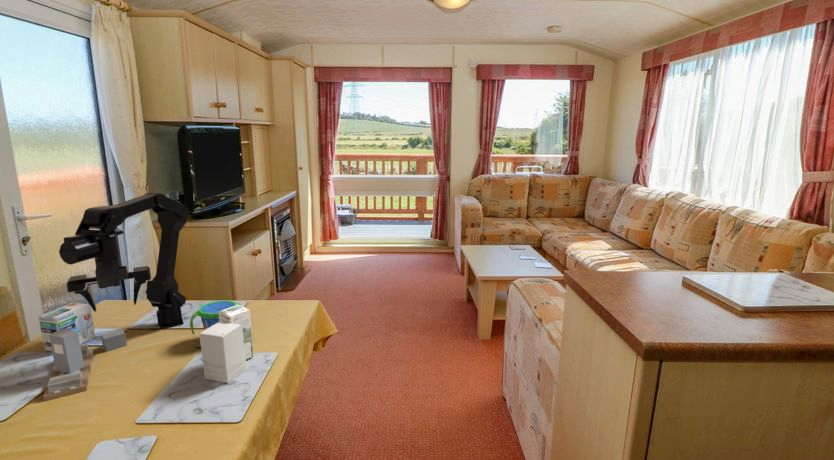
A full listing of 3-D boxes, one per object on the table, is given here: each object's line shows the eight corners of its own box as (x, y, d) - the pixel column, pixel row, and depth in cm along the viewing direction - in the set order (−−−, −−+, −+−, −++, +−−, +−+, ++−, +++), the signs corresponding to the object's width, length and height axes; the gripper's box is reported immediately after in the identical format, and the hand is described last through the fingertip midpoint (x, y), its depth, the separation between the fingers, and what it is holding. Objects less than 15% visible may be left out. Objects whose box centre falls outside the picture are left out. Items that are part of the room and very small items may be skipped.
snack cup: (246, 326, 141) (244, 296, 139) (250, 340, 132) (247, 308, 130) (192, 336, 135) (188, 305, 132) (192, 351, 125) (188, 318, 123)
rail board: (57, 359, 121) (55, 349, 120) (93, 352, 125) (91, 341, 125) (44, 400, 103) (41, 388, 102) (86, 390, 107) (84, 378, 106)
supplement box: (247, 369, 116) (243, 324, 113) (227, 384, 109) (222, 337, 107) (225, 364, 119) (220, 320, 116) (203, 378, 112) (197, 332, 109)
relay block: (123, 341, 132) (120, 329, 131) (127, 345, 129) (125, 333, 128) (103, 347, 128) (100, 334, 127) (106, 352, 126) (104, 339, 125)
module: (70, 364, 116) (63, 328, 114) (84, 366, 115) (77, 331, 112) (56, 370, 113) (48, 334, 111) (70, 374, 111) (63, 337, 109)
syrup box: (241, 351, 125) (236, 303, 122) (254, 357, 122) (249, 308, 119) (222, 360, 121) (217, 310, 117) (235, 366, 117) (230, 315, 114)
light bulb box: (63, 353, 125) (56, 318, 122) (43, 351, 126) (36, 316, 124) (97, 336, 135) (91, 303, 133) (78, 334, 136) (72, 301, 134)
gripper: (58, 266, 109) (70, 326, 112) (147, 255, 118) (155, 310, 122) (64, 256, 118) (75, 311, 121) (146, 246, 127) (154, 297, 131)
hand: (115, 307), depth 123 cm, fingers open, 9 cm apart
